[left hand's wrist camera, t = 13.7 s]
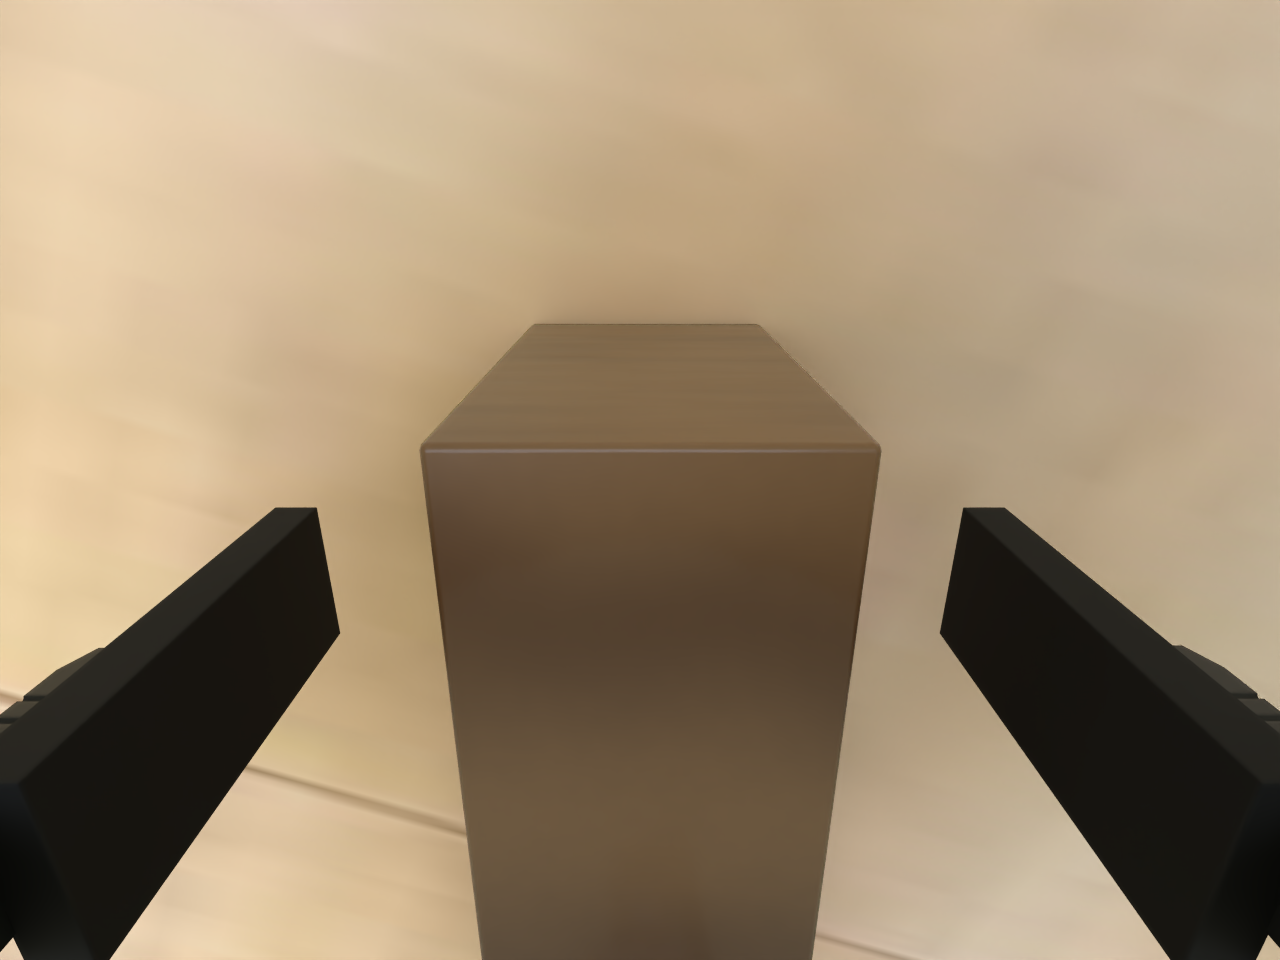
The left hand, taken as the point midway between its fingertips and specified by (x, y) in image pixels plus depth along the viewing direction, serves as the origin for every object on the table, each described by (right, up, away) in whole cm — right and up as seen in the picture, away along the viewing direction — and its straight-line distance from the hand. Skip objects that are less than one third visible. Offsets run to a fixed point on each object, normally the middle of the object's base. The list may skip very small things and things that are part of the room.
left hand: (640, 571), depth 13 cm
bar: (0, -24, +14) cm, 28 cm away
